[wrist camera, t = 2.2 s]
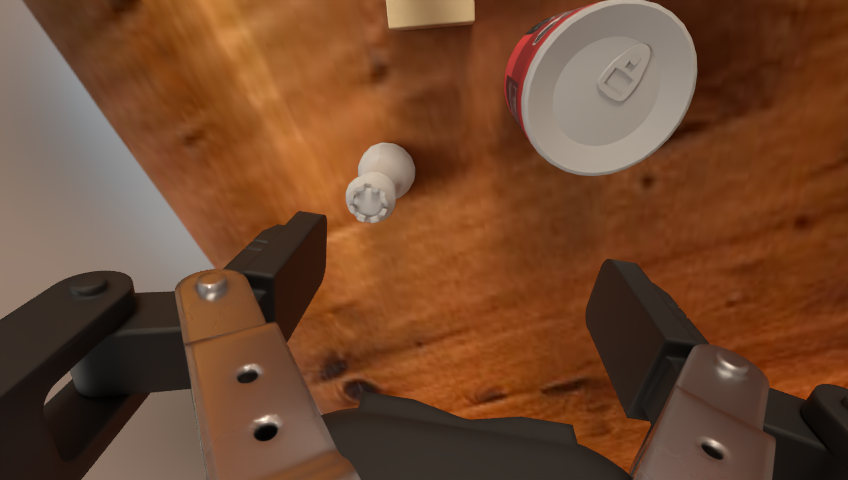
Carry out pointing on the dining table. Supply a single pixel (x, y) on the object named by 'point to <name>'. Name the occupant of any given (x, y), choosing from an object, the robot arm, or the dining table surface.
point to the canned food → (602, 84)
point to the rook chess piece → (380, 182)
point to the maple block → (429, 13)
